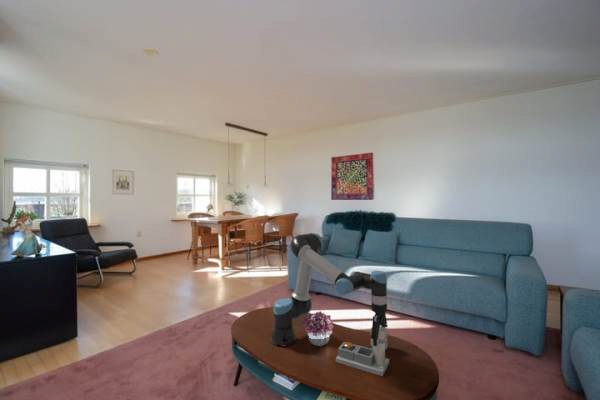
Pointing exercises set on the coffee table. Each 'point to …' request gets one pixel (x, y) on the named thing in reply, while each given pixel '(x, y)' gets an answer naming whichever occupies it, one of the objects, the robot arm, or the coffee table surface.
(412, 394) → the coffee table surface
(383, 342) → the cartridge
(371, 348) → the ink box
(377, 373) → the housing
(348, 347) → the orange piece
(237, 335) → the coffee table surface
